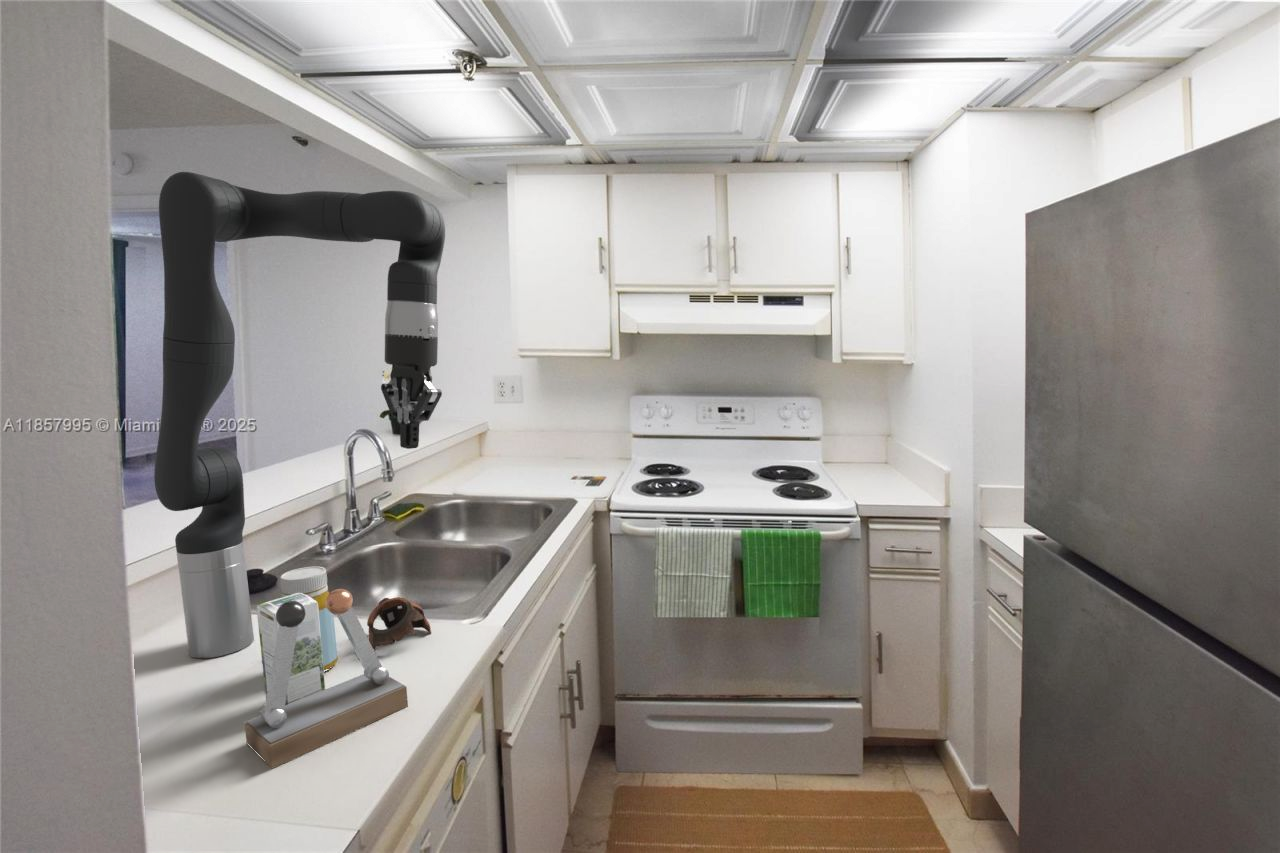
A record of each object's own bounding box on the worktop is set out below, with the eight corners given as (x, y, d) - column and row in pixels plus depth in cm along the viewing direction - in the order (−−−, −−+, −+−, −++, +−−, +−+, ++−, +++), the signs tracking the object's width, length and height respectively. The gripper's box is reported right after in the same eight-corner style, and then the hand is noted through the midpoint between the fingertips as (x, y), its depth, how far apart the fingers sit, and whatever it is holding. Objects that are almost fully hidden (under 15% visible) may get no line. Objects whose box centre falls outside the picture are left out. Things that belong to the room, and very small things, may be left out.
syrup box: (308, 688, 96) (298, 590, 94) (328, 700, 92) (317, 598, 90) (265, 705, 91) (254, 603, 90) (284, 719, 87) (273, 612, 86)
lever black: (252, 721, 80) (274, 598, 81) (280, 717, 82) (301, 597, 84) (262, 731, 78) (284, 604, 79) (291, 725, 80) (311, 603, 82)
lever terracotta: (363, 684, 90) (317, 596, 85) (383, 668, 92) (339, 581, 87) (374, 691, 88) (328, 601, 83) (395, 674, 90) (351, 586, 85)
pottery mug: (445, 639, 112) (427, 607, 107) (396, 679, 107) (374, 648, 102) (411, 605, 120) (392, 574, 115) (364, 641, 115) (342, 611, 110)
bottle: (285, 683, 97) (274, 584, 96) (289, 664, 104) (279, 570, 102) (337, 672, 100) (328, 575, 98) (338, 654, 106) (329, 562, 105)
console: (246, 744, 82) (244, 721, 82) (378, 688, 95) (376, 668, 94) (272, 768, 77) (269, 744, 76) (408, 706, 89) (406, 685, 89)
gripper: (364, 330, 101) (363, 444, 103) (415, 333, 93) (412, 456, 95) (408, 333, 107) (406, 440, 109) (459, 336, 99) (456, 451, 101)
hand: (409, 447), depth 102 cm, fingers closed
